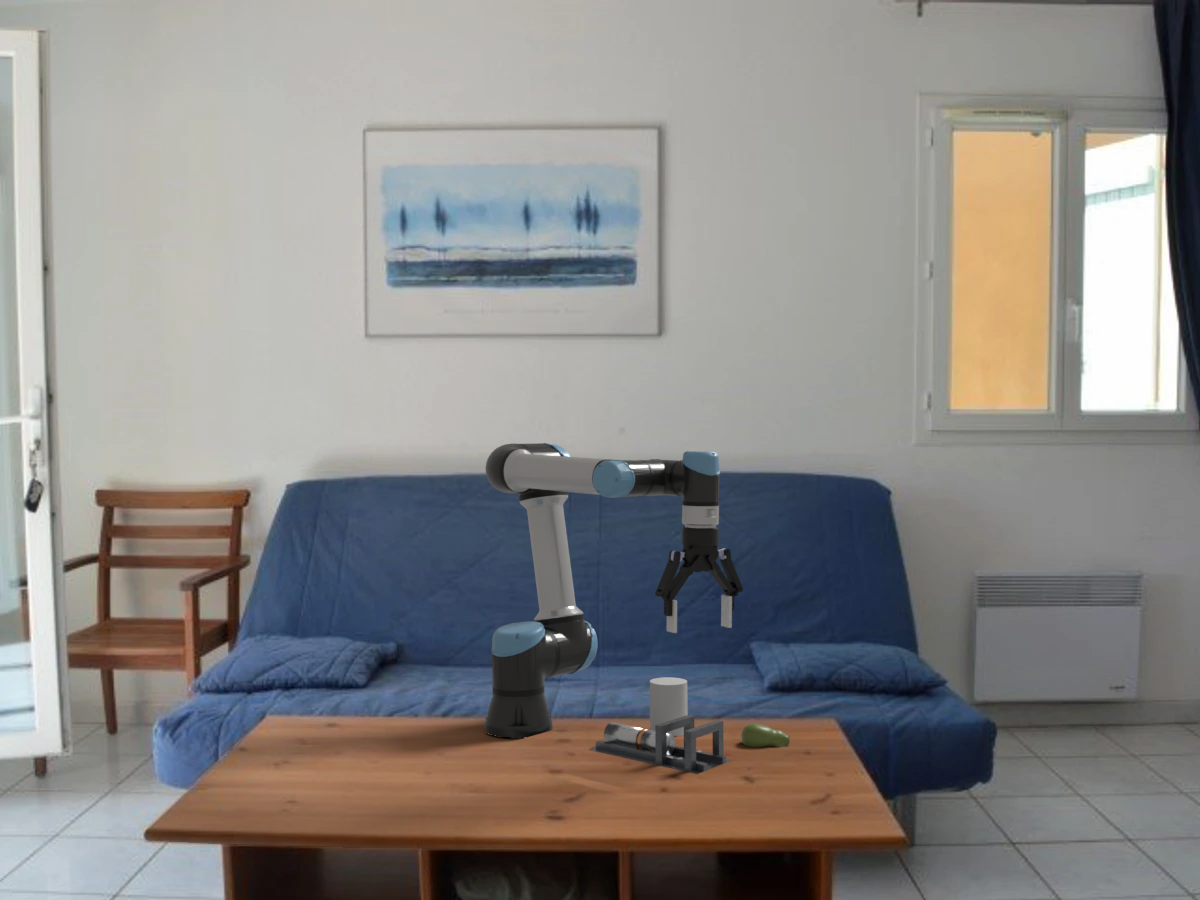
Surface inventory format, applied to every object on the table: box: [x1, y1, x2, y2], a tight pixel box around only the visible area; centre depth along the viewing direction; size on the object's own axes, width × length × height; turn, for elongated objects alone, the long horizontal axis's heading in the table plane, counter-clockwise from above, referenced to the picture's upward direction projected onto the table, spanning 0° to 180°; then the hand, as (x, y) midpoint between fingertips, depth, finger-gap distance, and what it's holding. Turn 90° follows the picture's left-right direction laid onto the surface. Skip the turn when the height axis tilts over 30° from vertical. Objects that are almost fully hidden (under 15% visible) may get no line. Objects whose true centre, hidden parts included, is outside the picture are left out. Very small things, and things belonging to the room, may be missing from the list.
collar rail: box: [588, 714, 733, 775], centre depth 219 cm, size 27×12×8 cm, turn 50°
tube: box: [603, 721, 676, 755], centre depth 223 cm, size 15×4×4 cm, turn 50°
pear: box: [740, 722, 791, 748], centre depth 227 cm, size 6×5×10 cm
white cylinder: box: [649, 676, 688, 738], centre depth 238 cm, size 8×8×12 cm
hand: (699, 629), depth 224 cm, fingers open, 13 cm apart
